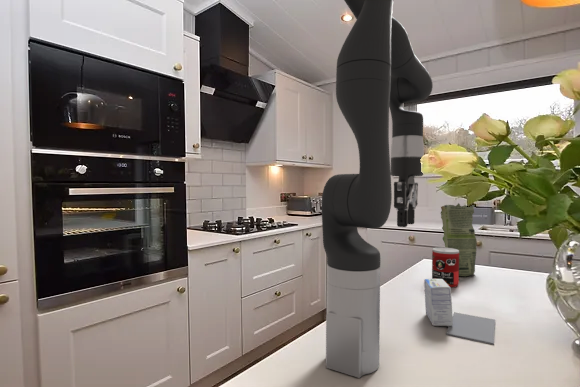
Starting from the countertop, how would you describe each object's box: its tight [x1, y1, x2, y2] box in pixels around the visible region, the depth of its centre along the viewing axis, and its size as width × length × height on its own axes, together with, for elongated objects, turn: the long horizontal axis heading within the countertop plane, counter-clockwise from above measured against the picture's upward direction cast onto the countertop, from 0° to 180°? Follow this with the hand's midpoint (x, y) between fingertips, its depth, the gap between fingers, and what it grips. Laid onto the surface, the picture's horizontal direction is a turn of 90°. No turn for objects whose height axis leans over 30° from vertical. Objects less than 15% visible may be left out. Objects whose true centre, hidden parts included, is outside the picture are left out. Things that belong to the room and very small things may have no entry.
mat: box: [445, 311, 496, 346], centre depth 76 cm, size 14×9×1 cm, turn 148°
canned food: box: [431, 246, 460, 288], centre depth 109 cm, size 8×8×11 cm
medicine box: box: [423, 278, 453, 327], centre depth 80 cm, size 8×4×9 cm, turn 168°
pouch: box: [440, 202, 478, 277], centre depth 122 cm, size 11×12×25 cm
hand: (406, 225), depth 83 cm, fingers open, 7 cm apart
